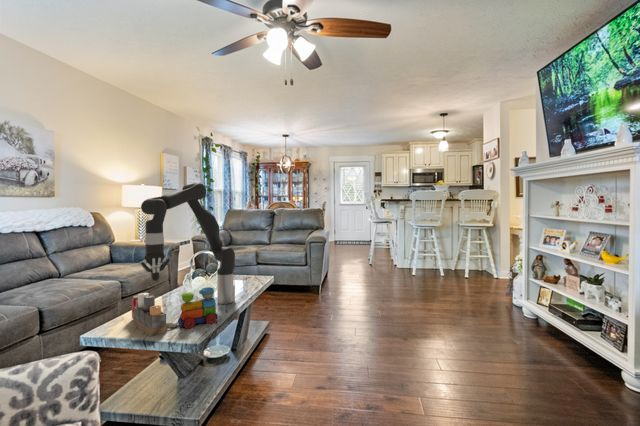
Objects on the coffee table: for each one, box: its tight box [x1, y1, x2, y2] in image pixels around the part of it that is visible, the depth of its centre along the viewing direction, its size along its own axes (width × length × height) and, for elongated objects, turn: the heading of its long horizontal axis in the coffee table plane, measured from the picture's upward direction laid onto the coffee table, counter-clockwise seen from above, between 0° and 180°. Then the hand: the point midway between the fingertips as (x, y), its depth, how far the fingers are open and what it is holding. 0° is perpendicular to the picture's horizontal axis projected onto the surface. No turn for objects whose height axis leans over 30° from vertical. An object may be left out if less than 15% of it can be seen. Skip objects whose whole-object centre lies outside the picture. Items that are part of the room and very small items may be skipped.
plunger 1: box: [137, 292, 150, 309], centre depth 155 cm, size 5×5×7 cm
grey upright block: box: [144, 295, 156, 313], centre depth 150 cm, size 5×5×7 cm
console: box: [133, 306, 168, 337], centre depth 150 cm, size 7×22×8 cm, turn 48°
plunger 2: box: [150, 304, 162, 317], centre depth 145 cm, size 5×5×7 cm
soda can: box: [131, 294, 138, 321], centre depth 162 cm, size 7×7×12 cm
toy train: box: [166, 286, 218, 330], centre depth 154 cm, size 12×29×17 cm, turn 126°
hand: (155, 280), depth 145 cm, fingers closed
